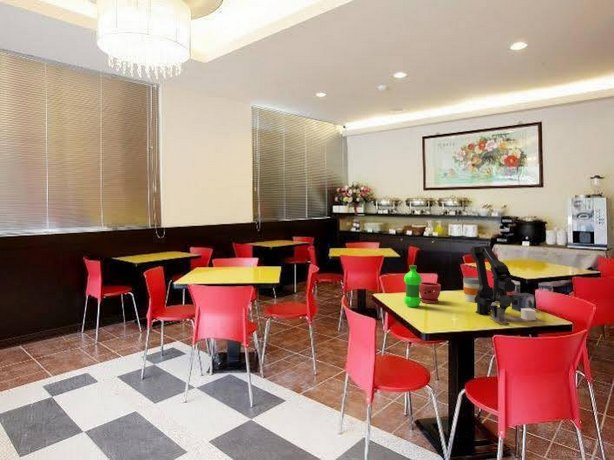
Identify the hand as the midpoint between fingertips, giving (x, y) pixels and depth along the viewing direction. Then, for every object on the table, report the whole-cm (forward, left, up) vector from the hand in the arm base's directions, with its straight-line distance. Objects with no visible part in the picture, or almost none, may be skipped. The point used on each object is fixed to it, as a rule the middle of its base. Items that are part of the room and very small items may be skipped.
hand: (498, 317), depth 215 cm
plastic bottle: (-35, +35, -2) cm, 49 cm away
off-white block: (+16, 0, -1) cm, 17 cm away
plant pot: (-20, +46, -2) cm, 50 cm away
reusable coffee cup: (+9, +47, -2) cm, 48 cm away
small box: (+25, +19, -2) cm, 32 cm away
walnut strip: (+10, 0, -2) cm, 11 cm away
